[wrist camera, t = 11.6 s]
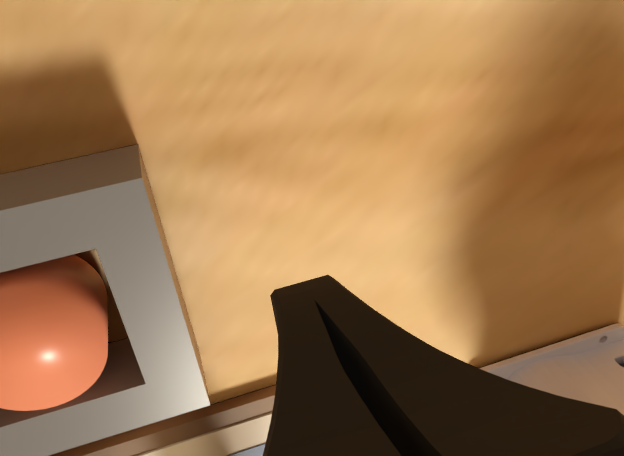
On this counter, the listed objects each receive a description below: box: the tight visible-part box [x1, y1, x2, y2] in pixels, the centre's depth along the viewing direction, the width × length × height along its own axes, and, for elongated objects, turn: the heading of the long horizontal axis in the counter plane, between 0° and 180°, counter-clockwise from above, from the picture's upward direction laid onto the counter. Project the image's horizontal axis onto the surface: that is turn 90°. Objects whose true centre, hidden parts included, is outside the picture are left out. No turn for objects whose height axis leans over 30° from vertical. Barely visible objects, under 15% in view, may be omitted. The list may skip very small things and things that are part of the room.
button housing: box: [0, 144, 210, 456], centre depth 21 cm, size 10×10×3 cm
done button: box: [0, 254, 108, 411], centre depth 21 cm, size 5×5×3 cm
